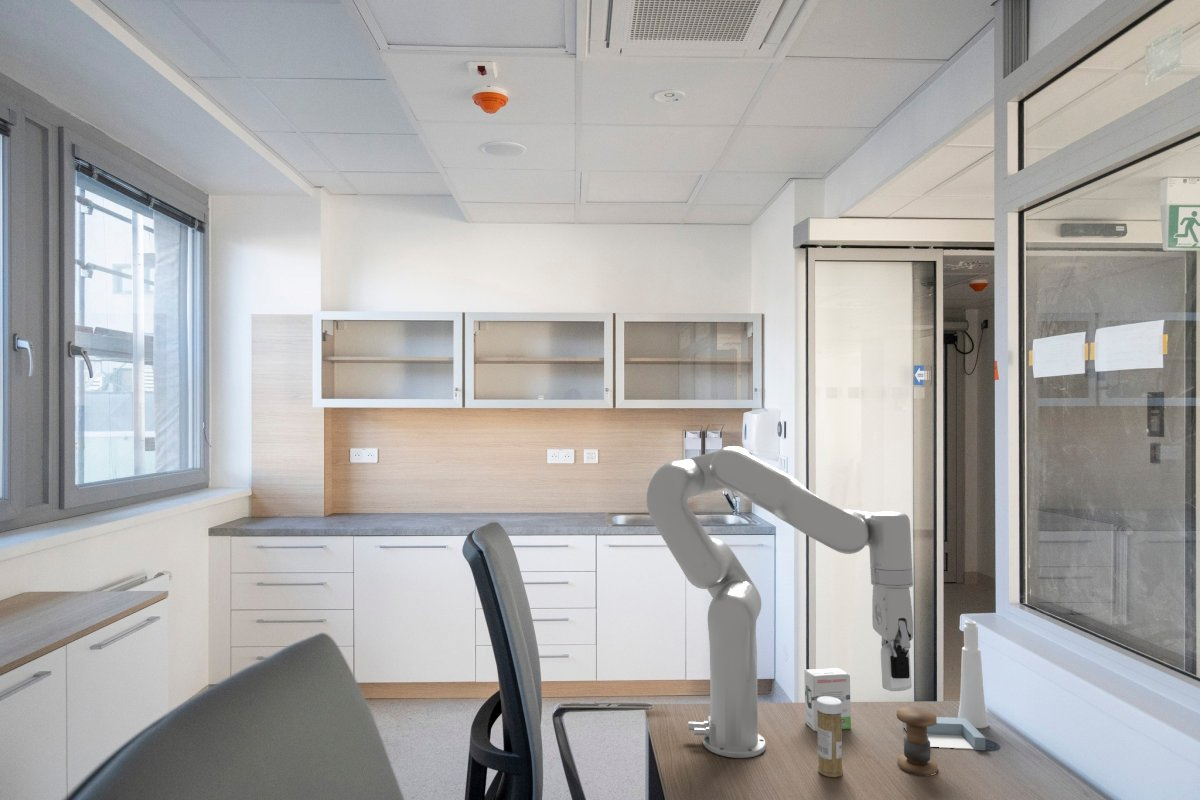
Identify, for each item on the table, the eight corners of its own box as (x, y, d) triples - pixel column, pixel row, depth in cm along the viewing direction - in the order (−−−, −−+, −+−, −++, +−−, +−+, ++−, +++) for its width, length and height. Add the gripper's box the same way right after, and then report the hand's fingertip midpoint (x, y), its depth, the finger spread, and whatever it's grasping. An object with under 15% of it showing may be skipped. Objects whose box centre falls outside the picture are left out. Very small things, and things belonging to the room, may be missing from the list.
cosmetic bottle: (961, 727, 156) (959, 624, 157) (954, 716, 162) (952, 617, 163) (992, 729, 155) (989, 626, 156) (983, 718, 160) (981, 619, 161)
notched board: (918, 747, 146) (917, 734, 146) (902, 727, 156) (902, 715, 156) (985, 750, 145) (985, 737, 145) (965, 729, 155) (965, 718, 155)
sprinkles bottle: (847, 776, 134) (846, 703, 134) (825, 779, 132) (824, 705, 133) (834, 765, 138) (833, 694, 139) (812, 768, 137) (811, 696, 138)
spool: (904, 774, 134) (903, 720, 135) (892, 758, 141) (892, 706, 142) (943, 776, 134) (942, 721, 134) (930, 759, 140) (929, 707, 141)
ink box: (840, 720, 160) (839, 666, 160) (851, 729, 155) (851, 673, 155) (804, 722, 158) (803, 668, 159) (814, 732, 154) (813, 675, 154)
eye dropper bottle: (916, 692, 135) (912, 626, 136) (885, 691, 135) (881, 626, 137) (909, 685, 139) (905, 621, 140) (878, 684, 140) (875, 621, 141)
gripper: (859, 569, 147) (863, 660, 146) (885, 586, 131) (890, 689, 130) (896, 568, 147) (901, 660, 146) (928, 585, 130) (933, 689, 129)
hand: (896, 672), depth 138 cm, fingers closed on eye dropper bottle, 4 cm apart
